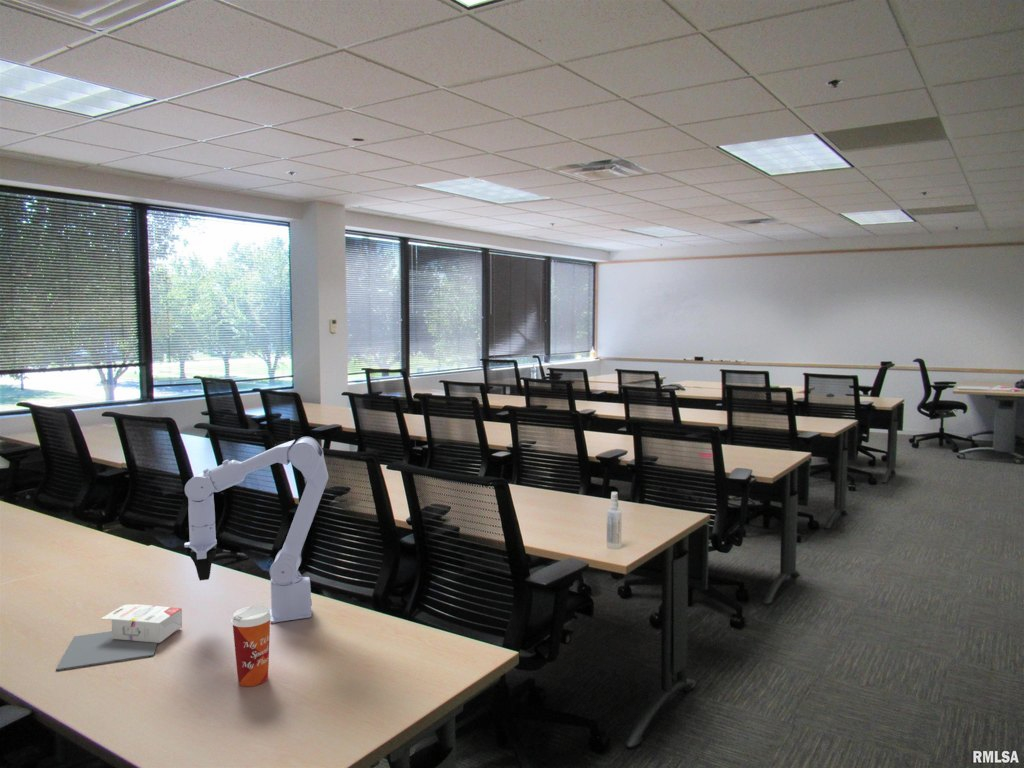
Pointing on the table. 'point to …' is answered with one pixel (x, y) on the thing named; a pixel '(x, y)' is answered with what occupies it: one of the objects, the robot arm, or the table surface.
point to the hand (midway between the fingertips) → (204, 579)
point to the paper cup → (252, 644)
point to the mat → (103, 650)
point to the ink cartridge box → (144, 622)
